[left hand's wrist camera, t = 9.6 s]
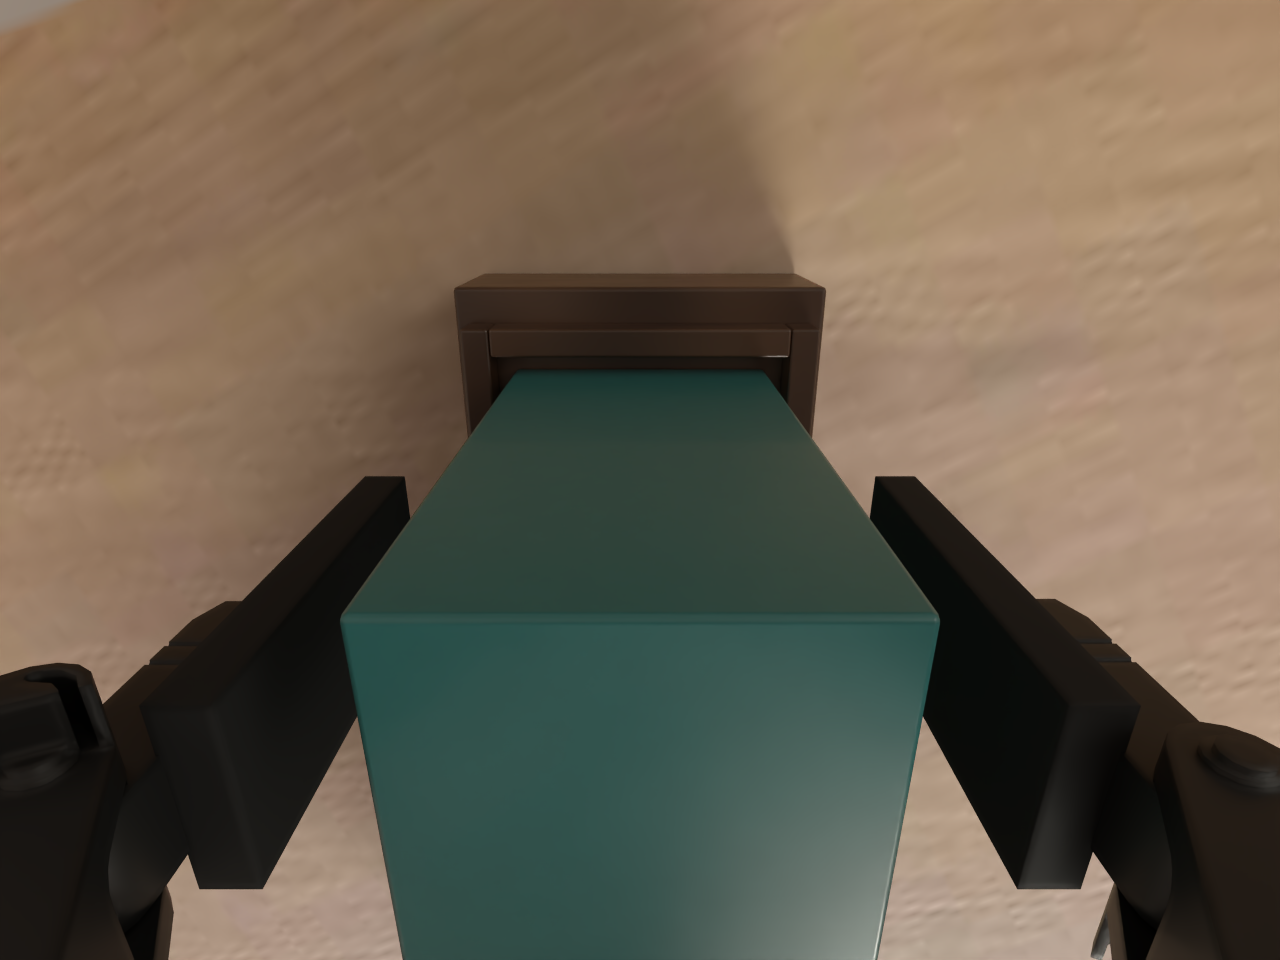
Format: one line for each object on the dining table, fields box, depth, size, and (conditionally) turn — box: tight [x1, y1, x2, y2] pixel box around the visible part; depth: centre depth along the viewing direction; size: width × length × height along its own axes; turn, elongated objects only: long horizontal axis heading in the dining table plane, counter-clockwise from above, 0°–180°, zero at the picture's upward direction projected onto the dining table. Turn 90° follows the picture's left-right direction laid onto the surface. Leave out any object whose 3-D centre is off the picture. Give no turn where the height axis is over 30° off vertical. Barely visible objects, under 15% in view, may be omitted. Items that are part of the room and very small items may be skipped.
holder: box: [454, 274, 826, 438], centre depth 19 cm, size 8×30×10 cm, turn 0°
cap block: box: [340, 369, 940, 960], centre depth 12 cm, size 6×6×10 cm
